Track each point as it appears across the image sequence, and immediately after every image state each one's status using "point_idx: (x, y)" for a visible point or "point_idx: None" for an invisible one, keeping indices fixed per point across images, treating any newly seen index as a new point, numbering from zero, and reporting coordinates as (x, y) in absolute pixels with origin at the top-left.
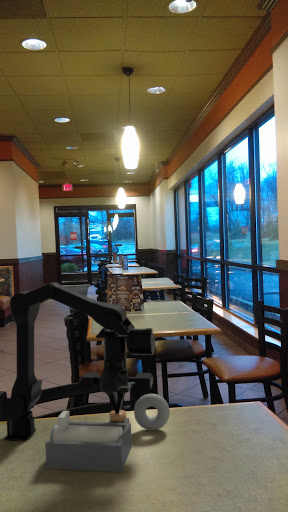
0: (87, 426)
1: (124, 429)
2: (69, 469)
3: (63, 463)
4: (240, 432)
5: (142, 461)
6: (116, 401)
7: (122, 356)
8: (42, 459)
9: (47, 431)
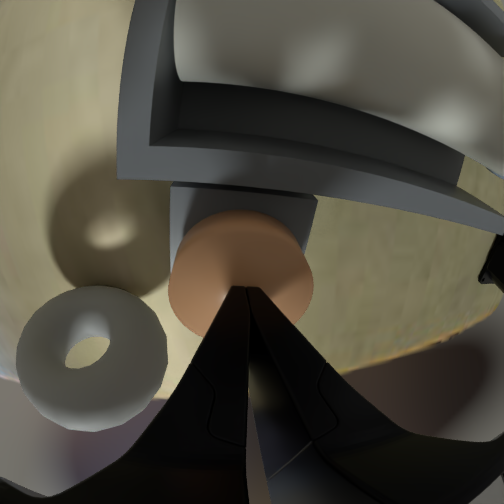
0: (466, 65)
1: (154, 53)
2: None
3: None
4: None
5: (105, 25)
6: (261, 387)
7: None
8: None
9: (460, 277)
